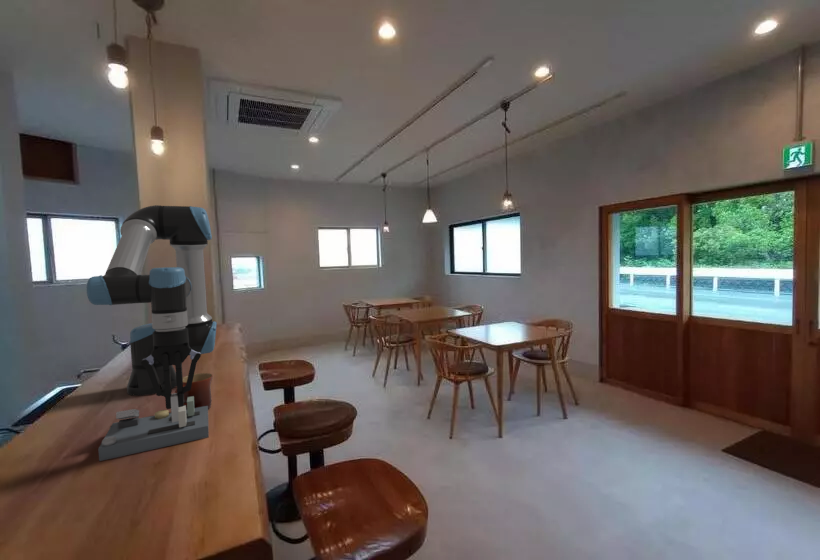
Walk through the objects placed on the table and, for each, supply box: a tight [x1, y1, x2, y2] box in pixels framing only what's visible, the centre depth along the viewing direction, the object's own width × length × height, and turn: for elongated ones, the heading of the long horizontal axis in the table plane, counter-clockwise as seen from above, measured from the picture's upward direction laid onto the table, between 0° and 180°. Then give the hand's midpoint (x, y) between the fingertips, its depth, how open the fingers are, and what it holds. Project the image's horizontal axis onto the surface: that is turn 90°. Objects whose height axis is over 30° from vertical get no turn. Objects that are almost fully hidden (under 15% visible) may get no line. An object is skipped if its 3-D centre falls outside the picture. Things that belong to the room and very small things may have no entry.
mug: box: [174, 372, 213, 411], centre depth 110 cm, size 12×9×10 cm
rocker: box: [115, 408, 140, 420], centre depth 96 cm, size 8×4×2 cm, turn 29°
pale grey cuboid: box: [178, 405, 187, 427], centre depth 95 cm, size 4×2×4 cm, turn 29°
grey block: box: [187, 396, 195, 416], centre depth 101 cm, size 4×2×4 cm, turn 29°
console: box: [97, 406, 210, 462], centre depth 96 cm, size 15×22×4 cm
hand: (175, 419), depth 94 cm, fingers closed
